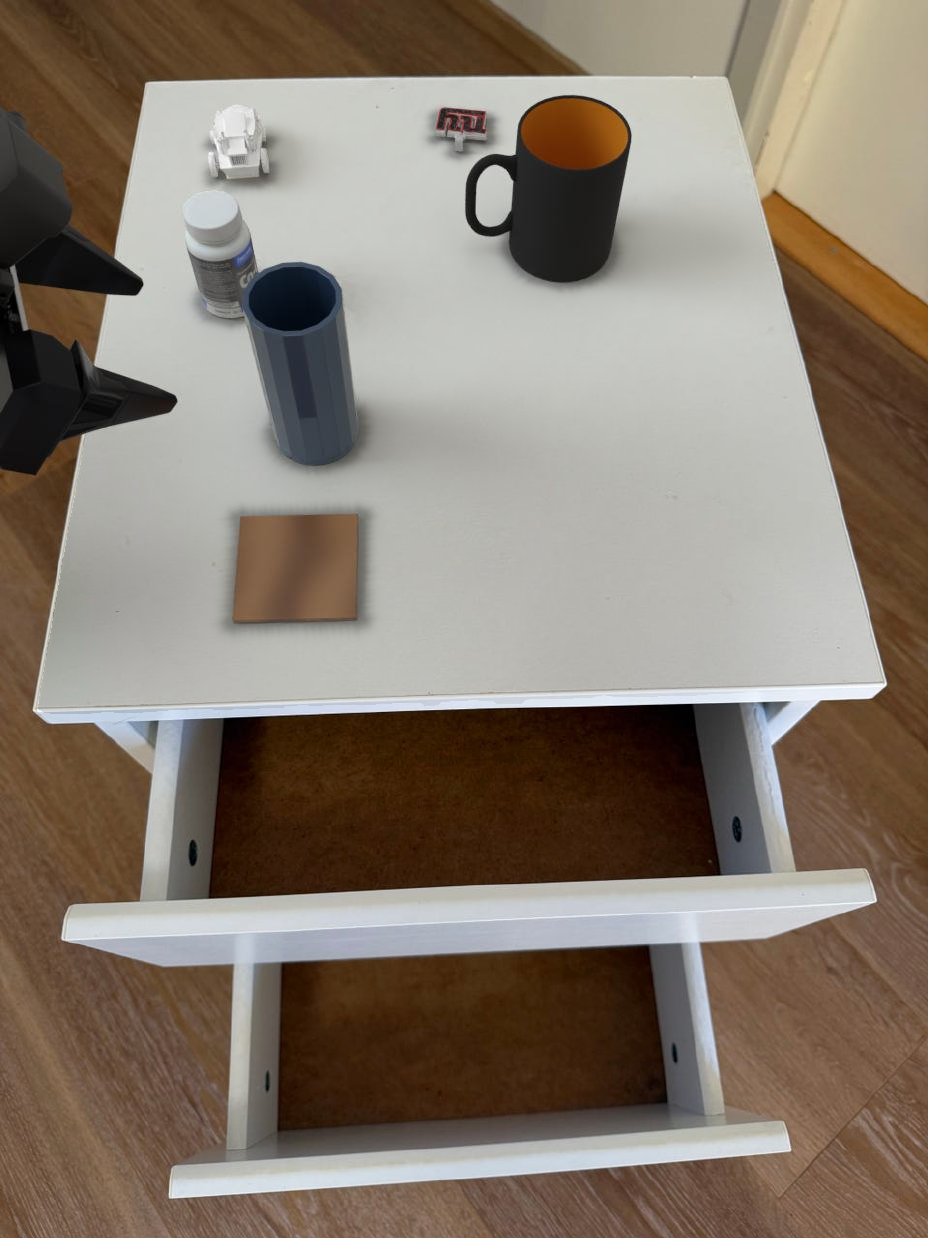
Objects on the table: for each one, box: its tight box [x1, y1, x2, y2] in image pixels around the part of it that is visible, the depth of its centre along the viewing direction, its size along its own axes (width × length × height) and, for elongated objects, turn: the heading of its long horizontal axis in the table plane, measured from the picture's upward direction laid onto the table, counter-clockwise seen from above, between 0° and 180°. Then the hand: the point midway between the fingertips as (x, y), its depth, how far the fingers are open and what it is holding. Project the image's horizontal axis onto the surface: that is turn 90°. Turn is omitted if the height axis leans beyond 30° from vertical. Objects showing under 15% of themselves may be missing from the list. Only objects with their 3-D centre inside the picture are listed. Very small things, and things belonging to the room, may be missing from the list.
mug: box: [464, 94, 633, 283], centre depth 75 cm, size 8×12×10 cm
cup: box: [242, 261, 359, 466], centre depth 65 cm, size 6×6×13 cm
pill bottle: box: [182, 189, 260, 319], centre depth 73 cm, size 5×5×8 cm
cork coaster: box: [231, 513, 359, 624], centre depth 65 cm, size 8×8×1 cm
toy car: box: [207, 104, 270, 180], centre depth 82 cm, size 5×8×4 cm, turn 8°
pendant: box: [434, 106, 488, 153], centre depth 85 cm, size 4×1×5 cm
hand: (156, 344), depth 56 cm, fingers open, 9 cm apart
